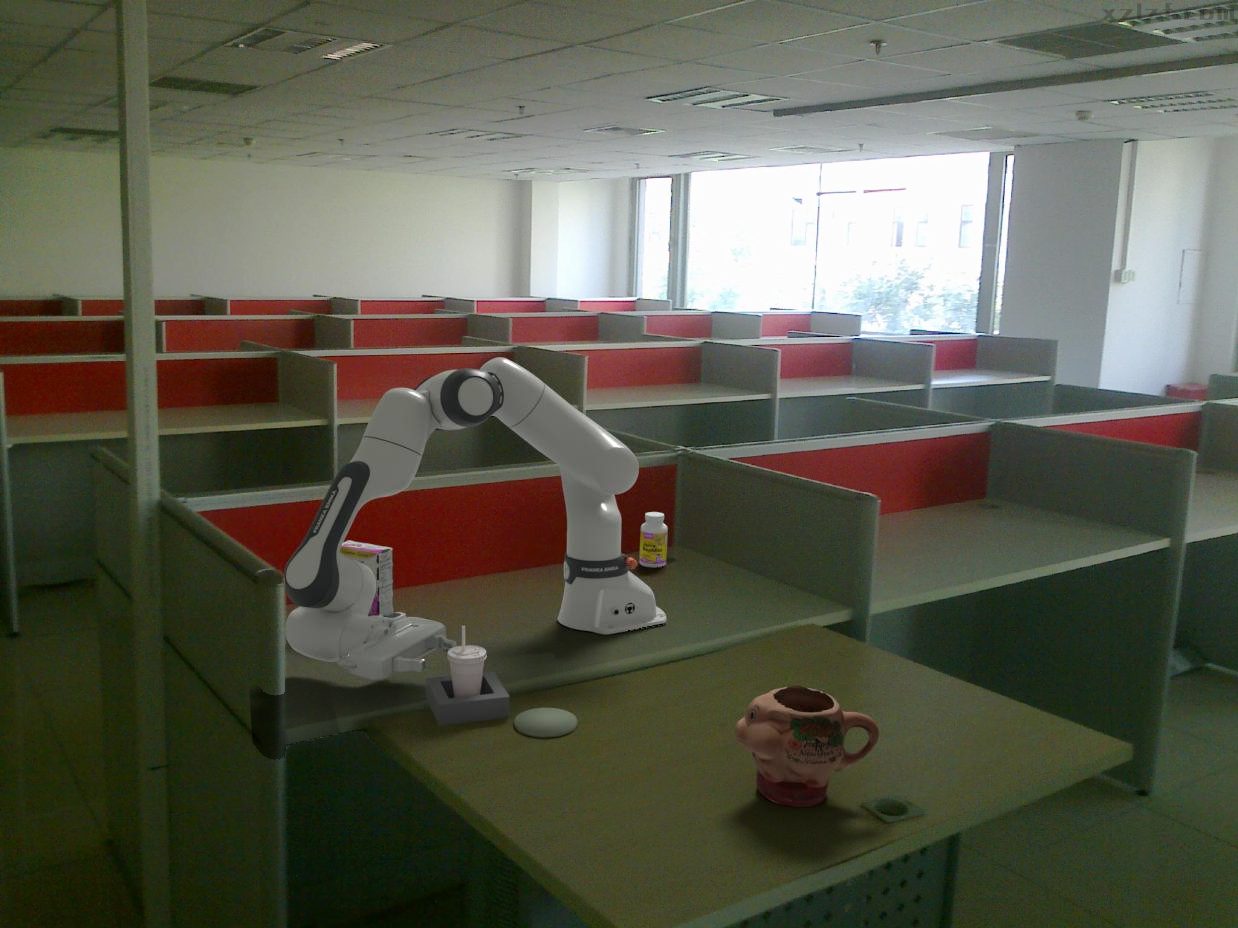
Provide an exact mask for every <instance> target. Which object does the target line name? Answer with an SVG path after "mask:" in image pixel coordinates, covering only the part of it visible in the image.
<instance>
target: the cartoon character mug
mask: <svg viewBox="0 0 1238 928" xmlns="http://www.w3.org/2000/svg"><path fill="white" fill-rule="evenodd" d="M853 728H860V729H861V728H862V729H864V730H865V732H866V733H867V735H868V741H867V743H866V744H865V745H864V746H863V747H862V748H860V750H858V751H857V752H854V753H852V752H848V751H847V750H846V749H845V739H846V735H847V733H848V732H849V731H850V730H851V729H853ZM734 736H735V739H736V741H737V742H738V743H739V744H740V745H741V746H743V747H744V748H745V749H746V750H748V751H749V752H750V753H751V755H752V757H753V759H754V761H755V763H756V766H757V767H756V780H755V781H756V782H755V783H756V787H757V790H758V791H759V793H760V794H761V795H762V796H763V797H765V798H766V799H767V800H770V801H771V802H773V803H775V804H779V805H783V806H784V805H785V806H790V807H797V808H798V807H812V806H815V805H818V804H821V803H822V802H823V801H824V799H825V798H826V796H827V793H828V786H829V781H830V775H831V774H832V772H833V771H835V772H837V773H840V772H842V771H844V770H846V769H848V768H851V767H852V766H854V765H856V764H857V763H859V762H860V761H861V760H863V759H864V758H865V757H866V756H867V755H868V754H869V753H870V752H871V751H872V750H873V749H874V747H875V746H876V745H877V744H878V741H879V737H880V730H879V727H878V726H877V723H876V721H874V719H873V718H872V717H870V716H869V715H867V714H865V713H860V712H856V711H844V710H843V709H841V705H840V703H839V702H838V701H837V699H836V698H834V697H833V696H832V695H830V694H828V693H826V692H824V691H821V690H819V689H814V688H810V687H804V686H803V685H791V686H790V685H789V686H785V687H780V688H774V689H772V690H770V691H768V692H767V693H764V694H760V695H759V696H756V697H754V698H753V699H752V701H751V702H750V703H749V705H748V706H747V708H746V712H745V715H744V716H743V717H742V718H741V719H739V720H738V721H737V723H736V724H735V727H734Z"/></svg>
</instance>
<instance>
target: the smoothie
mask: <svg viewBox="0 0 1238 928" xmlns="http://www.w3.org/2000/svg"><path fill="white" fill-rule="evenodd" d="M487 658H488V656H487V650H486V649H485V647H481V646H479V645H473V644H468V645H467V644H466V626H465V625H461V645H458V646H457V647H454V648H451V649H450V650H449V651H448V653H447V660H448V661H449V667H450V676H452V684H453V691H454V698H458V697H467V696H476V695H480V690H481V682H482V674H483V672H484V666H485V660H487Z"/></svg>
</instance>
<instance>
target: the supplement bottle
mask: <svg viewBox="0 0 1238 928" xmlns="http://www.w3.org/2000/svg"><path fill="white" fill-rule="evenodd" d="M644 520H645V522H644V523H642V524H641V526H640V535H639V537H640V538H639V539H640V541H639V559H638V560H639V564H640V565H641V566H642V567H646V568H654V569H655V568H656V569H657V567H658V568H662V566H663V567H665V566H666V564H667V554H668V553H667V552H668V551H667V550H668V525H666V524H665V523H664V520H665V514H664V513H663V512H658V511H651V512H650V511H649V512H645V514H644Z"/></svg>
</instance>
